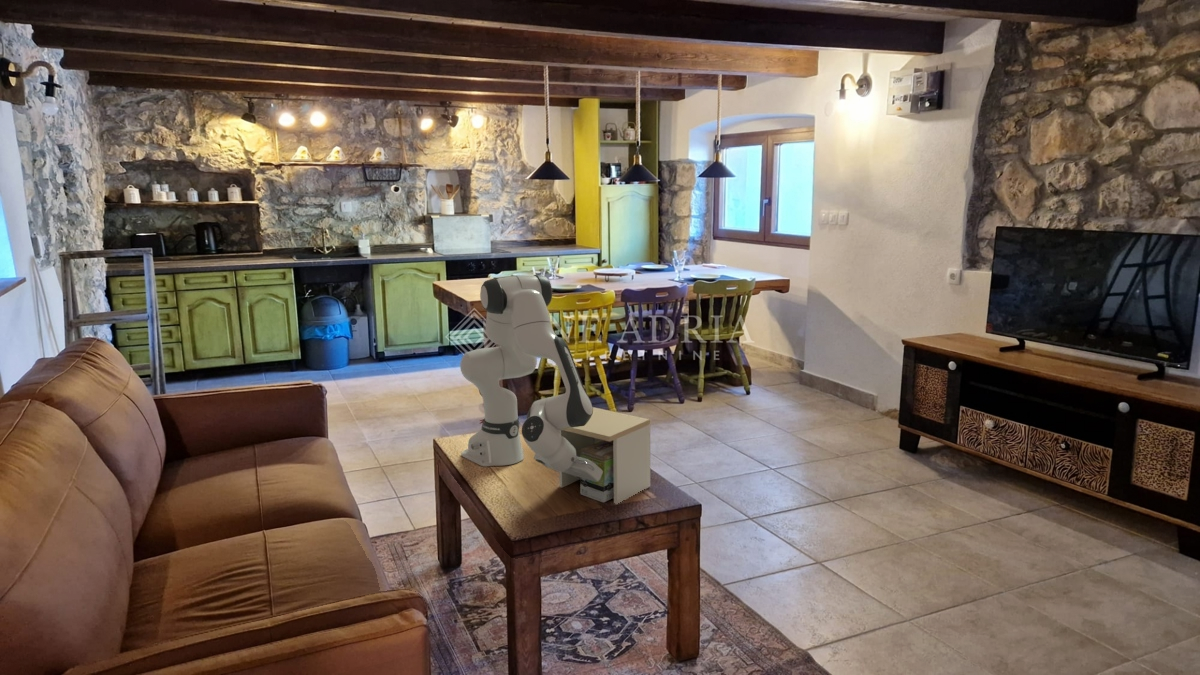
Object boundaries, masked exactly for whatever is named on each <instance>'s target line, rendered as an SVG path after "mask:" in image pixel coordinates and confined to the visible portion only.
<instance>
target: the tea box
mask: <svg viewBox="0 0 1200 675" xmlns="http://www.w3.org/2000/svg"><path fill="white" fill-rule="evenodd" d="M581 458H585V459H588V460H590V461H592V462H593V463H595V464H596V465H597V466H598V467H599V468H600V469H601V470H602V471H603V473H602V476H601V478H600V480H599V481H598V482H595V481H591V480H588V479H586V480H585V481H584V480H581V479H580V484H579V485H580V492H579V494H580V495H582V496H584V497H587V498H589V499H592V500H595V501H597V502H599V503H606V502H608V501H610V500H611V499H614V464H613V440H612V441H610V442H609V441H605V440H604V441H601V442H599V443H596V444H593V445H590V446H588V447H585V448H582V449H581Z"/></svg>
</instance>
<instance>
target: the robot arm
mask: <svg viewBox="0 0 1200 675" xmlns="http://www.w3.org/2000/svg"><path fill="white" fill-rule="evenodd" d="M480 286H481V287H480V291H479V292H480V294H479V297H480V299H479V300H480V302H481V306H482V307H483V310H485V311H486V319H485V320H486V322H485V334H486V337H487V338H488V340H489V341H490V342H492V343H494V344H496V345H498V346H494V347H482V348H476V349H474V350H470V351H467V352H464V354H463V355H462V358H461V360H460V366H459V367H460V372H461V374H462V376H463V377H464V379H466V380H467V381H468V382H470V383H472V385H474V386H475V387H476V388H477V390H478V391H479V393H480V395H481V397H482V402H483V409H484V419H480V420H479V424H480V425H481V424H482V426H481V428H480V429H479V430H478V431H477V432H475V433H474V434H473V435H471V436H470V438H468V439H469V440H468V442H467V445H468V446H467V448H466V449H464V450H463V451H462V452H461V455H460V456H461V457H463V458H465V459H467V460H469V461H471V462H473V463H475V464H477V465H480V467H484V468H485V467H492V466H494V467H495V466H498V467H500V466H508V465H509V466H510V465H513V464H514V465H515V464H517V463H520V462H521V461H523V460H524V459H525V455H524V449H523V447H522V441H521V440H522V439H521V436H522V438H523V440H524V442H525V443H526V445H527V446H528V447H529V449H530V450H531V451H532V452H533V453H534V457H533V460H535V462H538V463H540V464H541V465H542V466H544V467H545V468H547V469H549V470H550V469H551V470H553V471H554V472H557V473H559V472H564V473H567V474H571V475H573V476H575V477H576V478H577V479H579V480H580V481H581V480H584V481H585V480H586V479H588V480H591V481H595V482H598V481H599V480H600V478H601V476H602V473H603V471H602V470H601V469H600V468H599V467H598V466H597V465H596V464H595V463H593V462H592V461H590V460H588V459H585V458H581V457H578V456H576V450H575V448H574V447H573V446H572V445H571V444H570V442H569V441H568V440H567V439H566V438H564V437H563V436H561V434H560V430H561V429H566V428H570V427H579V426H585V425H586V424H587V422H588V421H589V420H590V418H591V416H592V414H593V407H594V406H593V404H592V401H591V399H590V397H589V394H588V393H587V391H586V390H585V387H584V385H583V382H582V381H583V380H582V379H581V377H580V374H579V371H578V369H577V366H576V362H575V360H574V358H573V355H572V352H571V349H570V348H569V345H568V344H567V342H566V340H564V338H562V337H560V336H558V335H557V334H556V332H555V331H554V329H553V326H552V321H551V317H550V313H549V310H548V306H549V305H550V303H551V301H552V300H553V289H552V288H553V287H552V283H551V282H550V280H549V278H548V277H546V276H545V275H541V274H533V275H529V274H528V275H526V274H523V275H520V274H519V275H513V276H505V277H499V278H491V279H488V280H485V281H483V283H482V284H481V285H480ZM538 358H541V359H547V360H551V361H552V362H554V364H556V366H557V368H558V371H559V374H560V376H561V379H562V382H563V384H564V387H565V393H562V394H557V395H555V396H554V395H553V396H551V397H550V396H549V397H545V398H541V399H538V400H534V401H533V402H532V404H531V405H530V406H529V409H528V412H527V414H526V419H525V420H524V422H523V424H522V426H521V433H520V419H519V416H518V414H519V413H518V399H517V398H518V397H517V396H516V394H515V393H514V392H513V391H512V390H510V389H507V388H505V387H502V386H500V381H501V380H509V379H517V378H522V377H525V376H528V375H531V374H533V373H534V371H535V370H536V367H537V366H538V365H537V362H538Z"/></svg>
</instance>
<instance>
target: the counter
mask: <svg viewBox="0 0 1200 675" xmlns="http://www.w3.org/2000/svg"><path fill="white" fill-rule="evenodd" d="M592 407H593V414H592V416H591V418H590V420H589V421H588V422H587V424H586V425H585V426H579V427H570V428H566V429H561V430H560V434H561V436H563V437H564V438H566V439H567V440H568V441H569V442H570V444H571V445H572V446H573V447H574V448H575V450H576V456H578V457H581V449H582V448H585V447H588V446H590V445H593V444H596V443H599V442H601V441H604V440H605V441H609V442H610V441H612V440H613V464H614V498H613V504H614V503H615V504H614V505H619V504H621V503H623V502H624V501H623V500H625V501H626V500H629V499H630V498H632V497H634V496H636V495H637V494H639V493H641V492H643V491H645V490H647V489H648V488H650V487H651V419H650V418H645V417H640V416H636V415H630V414H626V413H621V412H618V411H613V410H608V409H603V408H599V407H594V406H592ZM579 480H580V479H577V478H576V477H575V476H573V475H571V474H567V473H564V472H558V484H559V485H558V487H559V488H562V489H563V488H565V487H566V486H568V485H571V484H573V483H575V482H577V481H579ZM644 489H645V490H644ZM642 490H643V491H642ZM640 491H641V492H640ZM638 492H639V493H638ZM635 494H636V495H635ZM633 495H634V496H633ZM631 496H632V497H631ZM629 497H630V498H629ZM622 501H623V502H622ZM620 502H621V503H620ZM618 503H619V504H618Z"/></svg>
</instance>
